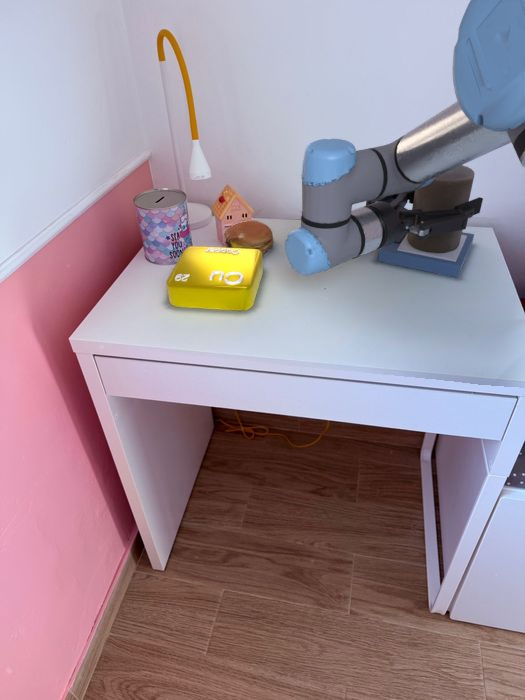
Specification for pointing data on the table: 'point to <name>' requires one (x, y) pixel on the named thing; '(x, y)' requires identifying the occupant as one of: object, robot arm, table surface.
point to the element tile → (216, 278)
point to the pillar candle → (442, 206)
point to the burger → (249, 236)
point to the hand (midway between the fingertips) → (456, 196)
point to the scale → (427, 256)
